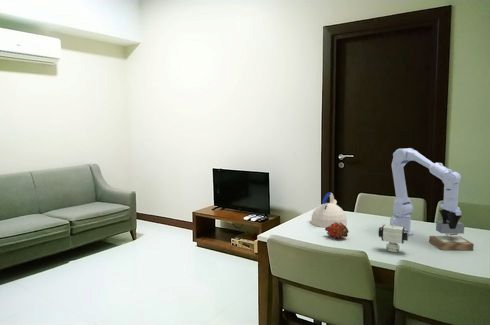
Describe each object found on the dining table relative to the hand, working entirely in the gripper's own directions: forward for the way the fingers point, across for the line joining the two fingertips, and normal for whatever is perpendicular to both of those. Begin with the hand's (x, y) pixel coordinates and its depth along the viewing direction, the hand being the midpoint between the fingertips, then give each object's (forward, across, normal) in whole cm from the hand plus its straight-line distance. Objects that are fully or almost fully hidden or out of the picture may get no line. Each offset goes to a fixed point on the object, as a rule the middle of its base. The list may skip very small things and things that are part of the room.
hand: (449, 226), depth 160 cm
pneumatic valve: (+9, -10, +29) cm, 32 cm away
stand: (+8, -2, 0) cm, 9 cm away
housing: (+2, 0, 0) cm, 2 cm away
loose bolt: (+8, +16, -10) cm, 21 cm away
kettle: (+9, +36, +49) cm, 61 cm away
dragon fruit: (+9, +8, +50) cm, 52 cm away
